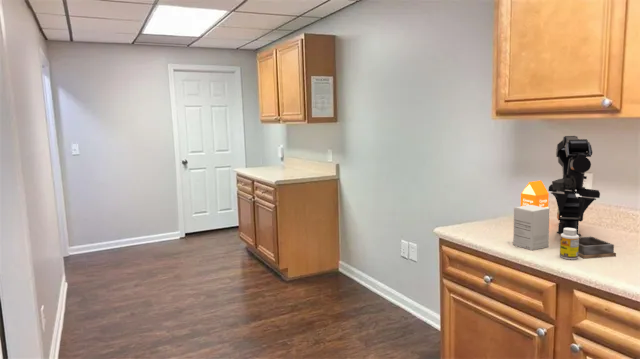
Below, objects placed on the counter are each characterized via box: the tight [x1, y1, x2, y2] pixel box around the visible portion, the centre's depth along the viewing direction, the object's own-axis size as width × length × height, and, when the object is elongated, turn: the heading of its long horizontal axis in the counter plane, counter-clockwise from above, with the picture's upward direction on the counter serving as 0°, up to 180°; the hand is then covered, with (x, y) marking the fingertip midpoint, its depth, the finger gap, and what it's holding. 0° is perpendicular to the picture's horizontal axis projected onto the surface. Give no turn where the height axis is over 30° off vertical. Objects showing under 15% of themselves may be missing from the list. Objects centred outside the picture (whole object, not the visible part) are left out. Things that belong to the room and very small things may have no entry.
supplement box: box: [512, 205, 550, 251], centre depth 168 cm, size 9×9×15 cm
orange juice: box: [520, 180, 550, 208], centre depth 198 cm, size 8×9×20 cm
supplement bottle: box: [559, 228, 580, 261], centre depth 153 cm, size 6×6×10 cm
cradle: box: [578, 236, 617, 260], centre depth 158 cm, size 12×12×4 cm
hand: (569, 213), depth 167 cm, fingers open, 9 cm apart
